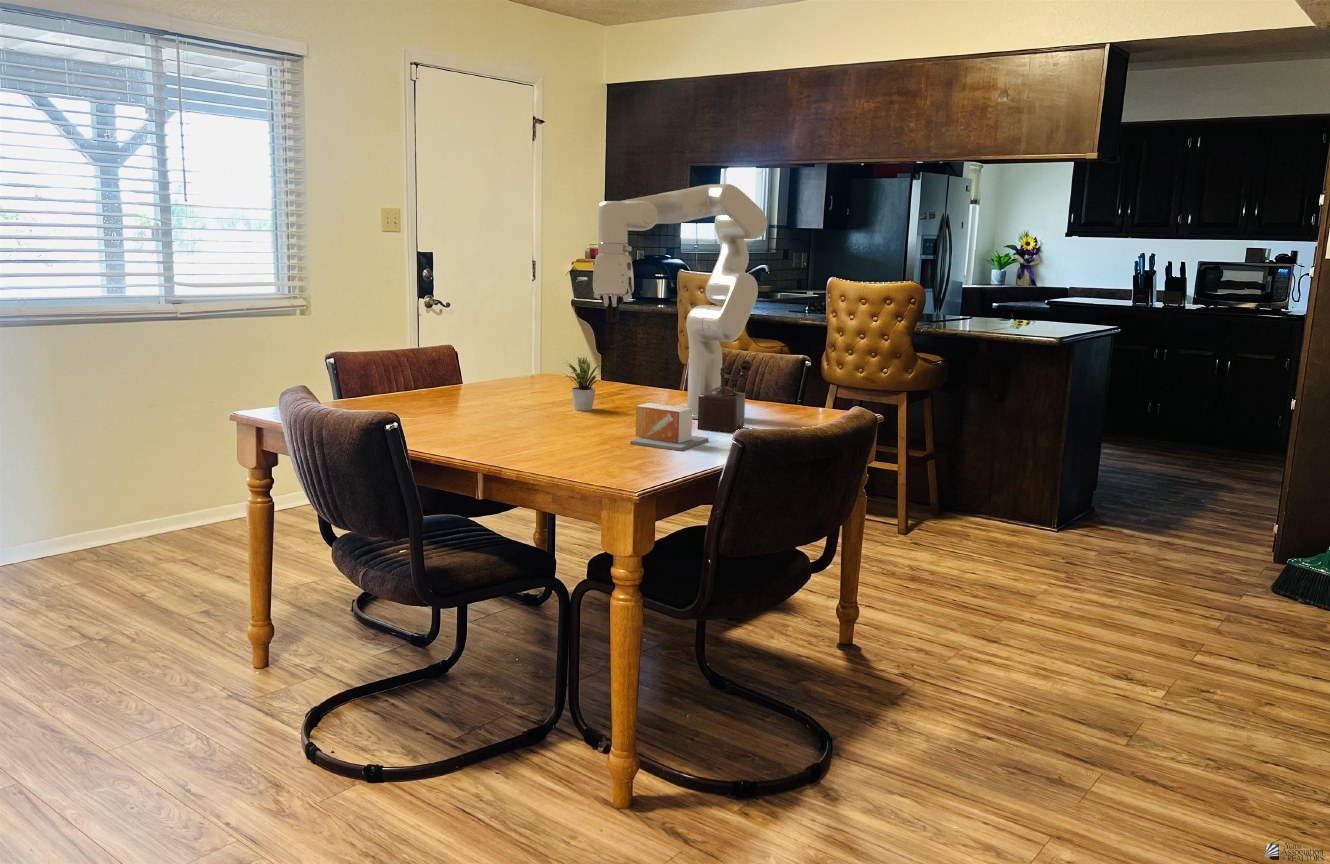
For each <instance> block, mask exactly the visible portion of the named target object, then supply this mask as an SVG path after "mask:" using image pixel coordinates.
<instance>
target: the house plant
mask: <svg viewBox="0 0 1330 864" xmlns="http://www.w3.org/2000/svg"><path fill="white" fill-rule="evenodd" d="M588 356H589V354H588V355H587V356H583V358H582V357H579V356H576V357H577V361H578V368H579V370H578V369H576V367H575V366H574V365H572V364H571V363H569V362H568V360H566V359H565V361H566V364H567V365H565V367H566V366H567V367H569V368H571V370H572V371H571V372H570V373H571V374H574V375H575V377H573V376H569V375H567V374H565V373H563V372H561V374H564V375H565V376H563V379H565V378H569V379H570V381H569V382H570V383H571V382H573V384H575V385H576V386H573V387H571V396H572V402H573V409H574V411H577V410H579V412H589V411H590V412H591V411H592V410H593V408H594V407H593V406H594V400H595V395H596V394H595V393H596V388H595V387H593V385H594V384H595V383H597V382H602V380H601V379H597V380H595V379H596V378H597V377H596V376H601V375H602V374H601V373H599V374H594V373H595V372H596V370H597V368H598V367H599V366H601V365H602V364H603V362H602V363H601V362H600V363H599V364H597V365H596V366H595V367H594V368H593V369H592V371H591V372H590V370H591V362H590V360H589V359H588ZM562 363H563V364H565V362H562ZM578 371H579V372H578Z"/></svg>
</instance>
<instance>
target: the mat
mask: <svg viewBox="0 0 1330 864" xmlns="http://www.w3.org/2000/svg"><path fill="white" fill-rule="evenodd" d="M707 442H709V437H704V436H697V435H691V440H688V441H685V442H681V443H673V442H667V441H660V440H654V439H647V438H641V437H637V438H635V439H632V440H630V443H629V444H630V445H633V446H634V445H635V446H642V447H648V448H656V449H663V450H671V451H678V452H682V451H684V450H688V449H691V448H693V447H696V446H699V445H701V444H704V443H707Z"/></svg>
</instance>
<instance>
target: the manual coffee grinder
mask: <svg viewBox="0 0 1330 864" xmlns="http://www.w3.org/2000/svg"><path fill="white" fill-rule="evenodd" d="M738 367H739V369H740V374H739V375H729V374H726V372H725V370H726V368H725V367H724V366H722V367H721V369H720V371H721V372H720V375H721V385H720V387H717V388H714V389H712V390H711V391H709V392H706V393H703V394H701V395H699V397H698V419H697V430H699V429H700V430H701V431H708V430H710V432H718V431H720V433H731V434H733V432H734V433H736V432H737V431H736V430H738V429H740V430H742V429H743V428H744V427H745V412H746V393H745V392H739V391H736V387H733V388H732V387H729V386H725V378H727V379H731V380H738V379H744V380H745V379H746V378H749V377H750V371H751V370H752V369H753V367H754V364H753V362H752V361H751V360H750V359H749V360H748V359H742V360H741V361H739V363H738ZM743 426H744V427H743ZM741 428H742V429H741ZM735 431H736V432H735ZM738 431H739V430H738Z"/></svg>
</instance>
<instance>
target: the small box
mask: <svg viewBox="0 0 1330 864" xmlns="http://www.w3.org/2000/svg"><path fill="white" fill-rule="evenodd" d="M692 429H693V418H692V408H687V406H686V407H685V406H678V405H677V406H675V405H671V404H669V405H668V404H664V403H663V404H662V403H654V402H647V403H642V404H638V405H636V406H635V437H636V438H647V439H654V440H660V441H667V442H673V443H681V442H685V441H688V440H691V436H693V435H692Z"/></svg>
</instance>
